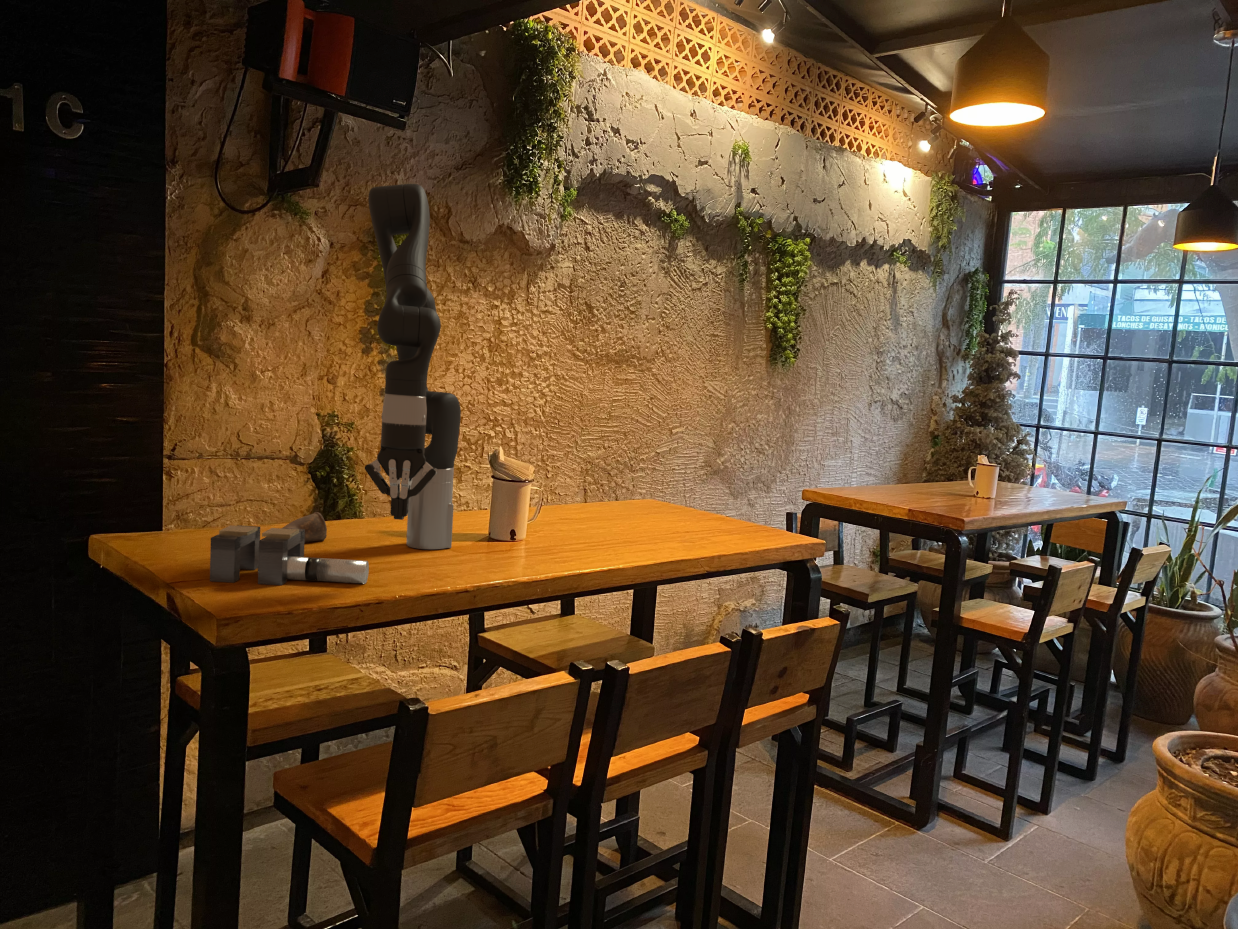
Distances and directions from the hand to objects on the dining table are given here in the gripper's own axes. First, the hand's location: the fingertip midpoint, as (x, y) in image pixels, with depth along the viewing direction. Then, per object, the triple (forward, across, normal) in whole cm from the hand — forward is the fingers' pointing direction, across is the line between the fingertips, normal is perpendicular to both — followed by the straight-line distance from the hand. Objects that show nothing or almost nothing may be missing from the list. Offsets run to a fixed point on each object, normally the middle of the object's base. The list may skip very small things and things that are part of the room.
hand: (398, 518), depth 155 cm
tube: (+11, +14, 0) cm, 18 cm away
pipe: (+12, +25, -26) cm, 38 cm away
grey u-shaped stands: (+12, +24, 0) cm, 27 cm away
